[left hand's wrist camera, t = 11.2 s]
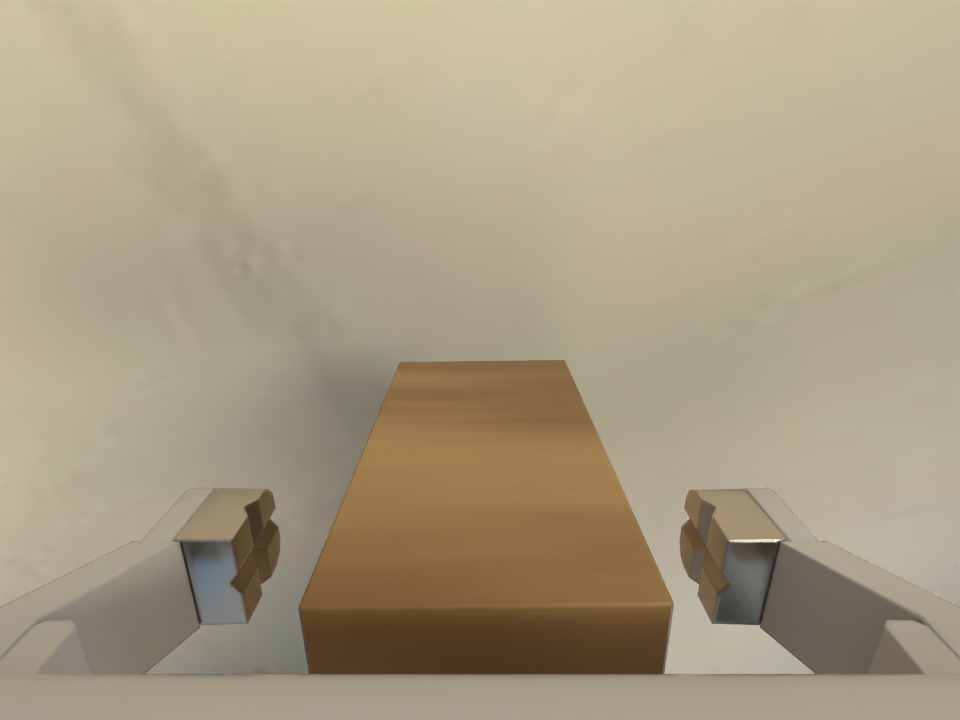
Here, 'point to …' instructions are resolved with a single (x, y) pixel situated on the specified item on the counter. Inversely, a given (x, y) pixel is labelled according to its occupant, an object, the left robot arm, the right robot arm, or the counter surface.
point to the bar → (485, 537)
